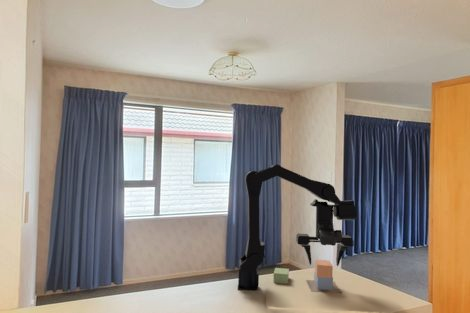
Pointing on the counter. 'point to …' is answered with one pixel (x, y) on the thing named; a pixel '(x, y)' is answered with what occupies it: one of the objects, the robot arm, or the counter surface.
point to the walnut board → (314, 289)
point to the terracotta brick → (323, 268)
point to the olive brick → (281, 275)
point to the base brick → (323, 282)
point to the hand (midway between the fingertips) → (323, 265)
